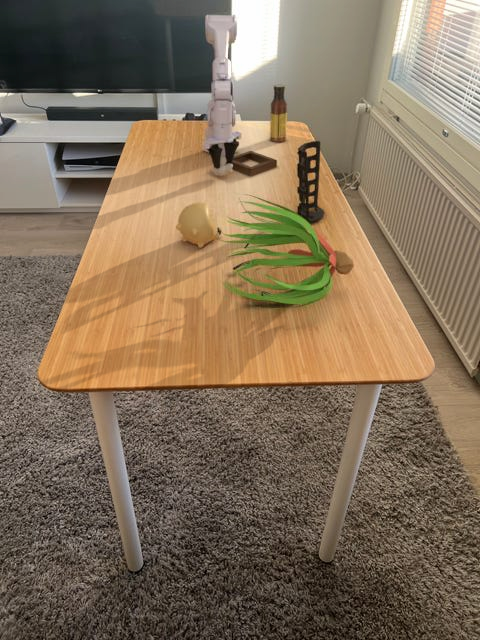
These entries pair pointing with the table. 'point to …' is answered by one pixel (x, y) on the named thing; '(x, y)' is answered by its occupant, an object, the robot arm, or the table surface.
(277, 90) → the sauce bottle
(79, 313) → the table surface
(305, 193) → the holder
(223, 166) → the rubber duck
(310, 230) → the decorative plant
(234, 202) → the table surface
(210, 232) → the toy pig
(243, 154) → the brown wooden square frame
